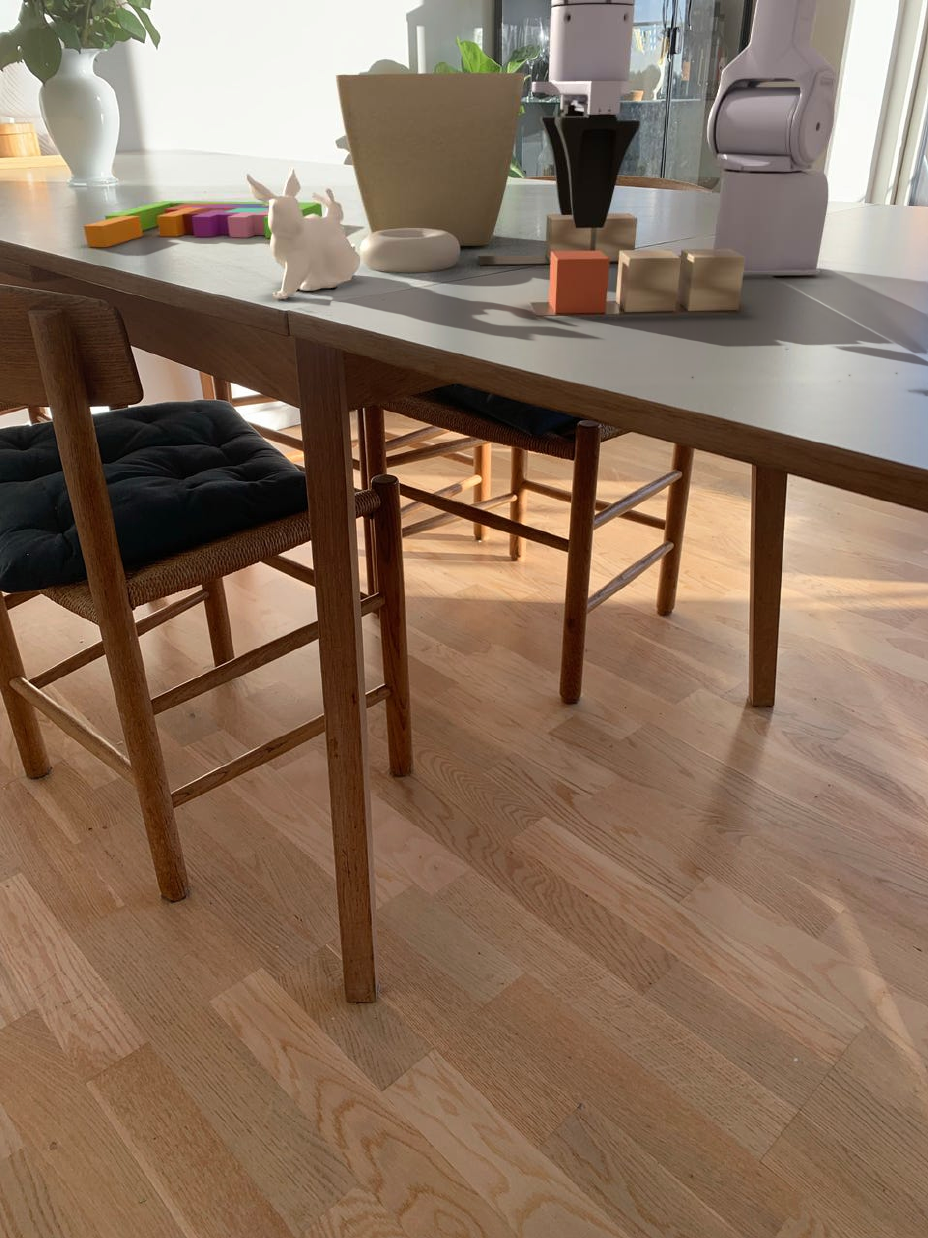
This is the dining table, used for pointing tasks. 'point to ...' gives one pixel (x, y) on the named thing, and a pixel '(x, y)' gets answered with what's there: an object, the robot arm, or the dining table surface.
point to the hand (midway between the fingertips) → (581, 220)
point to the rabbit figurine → (307, 240)
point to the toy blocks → (187, 220)
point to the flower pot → (432, 148)
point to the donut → (410, 250)
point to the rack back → (576, 240)
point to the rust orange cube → (578, 281)
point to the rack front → (672, 283)
